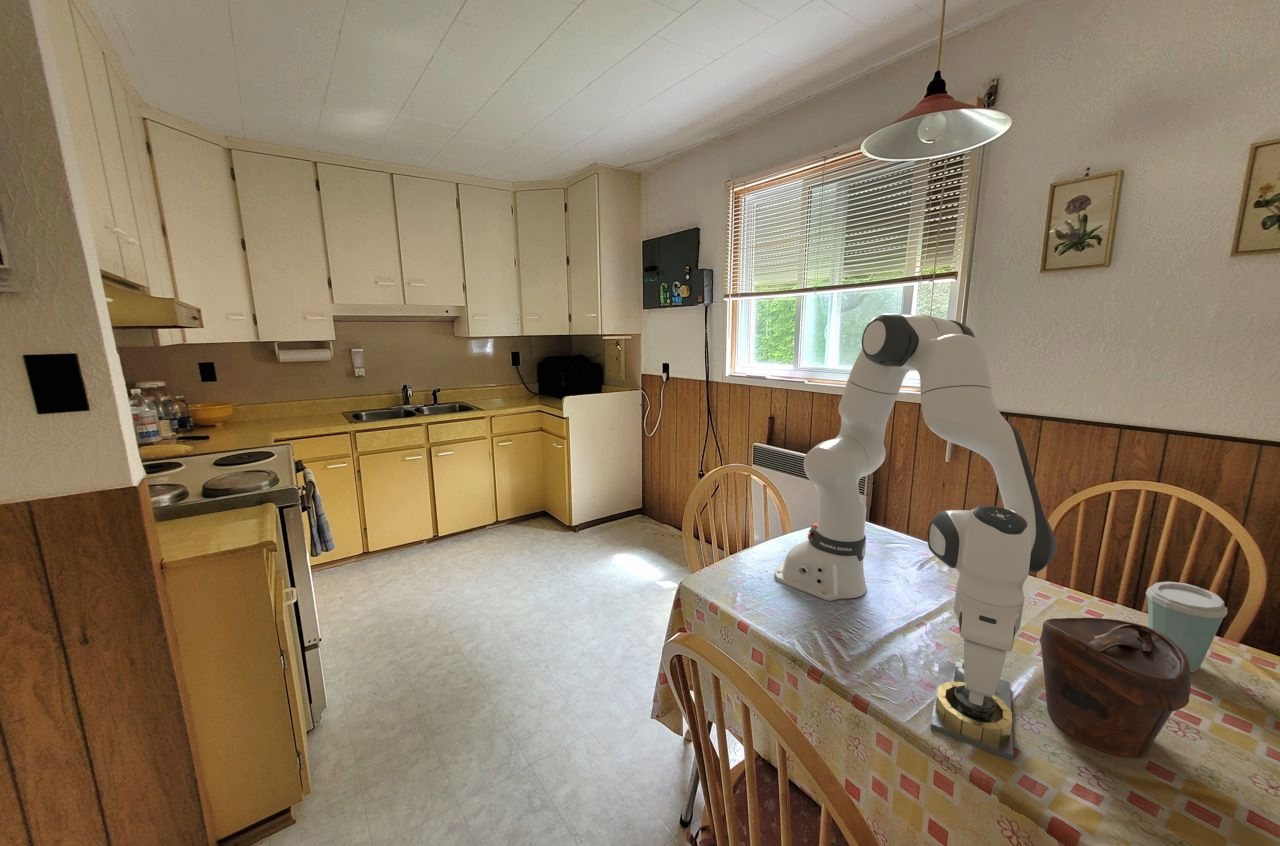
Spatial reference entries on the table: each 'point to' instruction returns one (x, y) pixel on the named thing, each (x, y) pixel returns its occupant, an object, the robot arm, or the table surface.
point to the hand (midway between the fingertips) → (976, 683)
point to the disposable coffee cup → (1186, 617)
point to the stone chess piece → (973, 705)
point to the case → (1112, 682)
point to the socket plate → (968, 730)
